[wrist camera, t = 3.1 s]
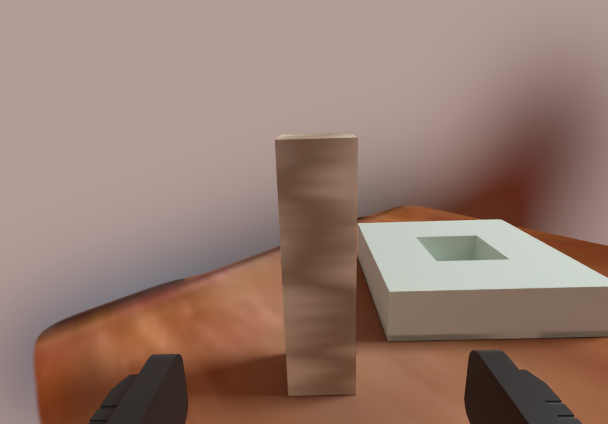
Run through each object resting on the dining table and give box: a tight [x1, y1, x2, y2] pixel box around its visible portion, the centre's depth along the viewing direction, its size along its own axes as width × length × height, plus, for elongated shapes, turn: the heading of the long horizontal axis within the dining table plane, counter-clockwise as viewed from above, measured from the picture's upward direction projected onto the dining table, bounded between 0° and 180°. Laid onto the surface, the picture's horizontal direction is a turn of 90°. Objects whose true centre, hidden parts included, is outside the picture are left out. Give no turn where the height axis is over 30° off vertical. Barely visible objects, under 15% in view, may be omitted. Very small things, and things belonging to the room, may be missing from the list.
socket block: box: [358, 220, 608, 341], centre depth 33 cm, size 16×16×4 cm
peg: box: [275, 133, 358, 396], centre depth 21 cm, size 4×4×15 cm
